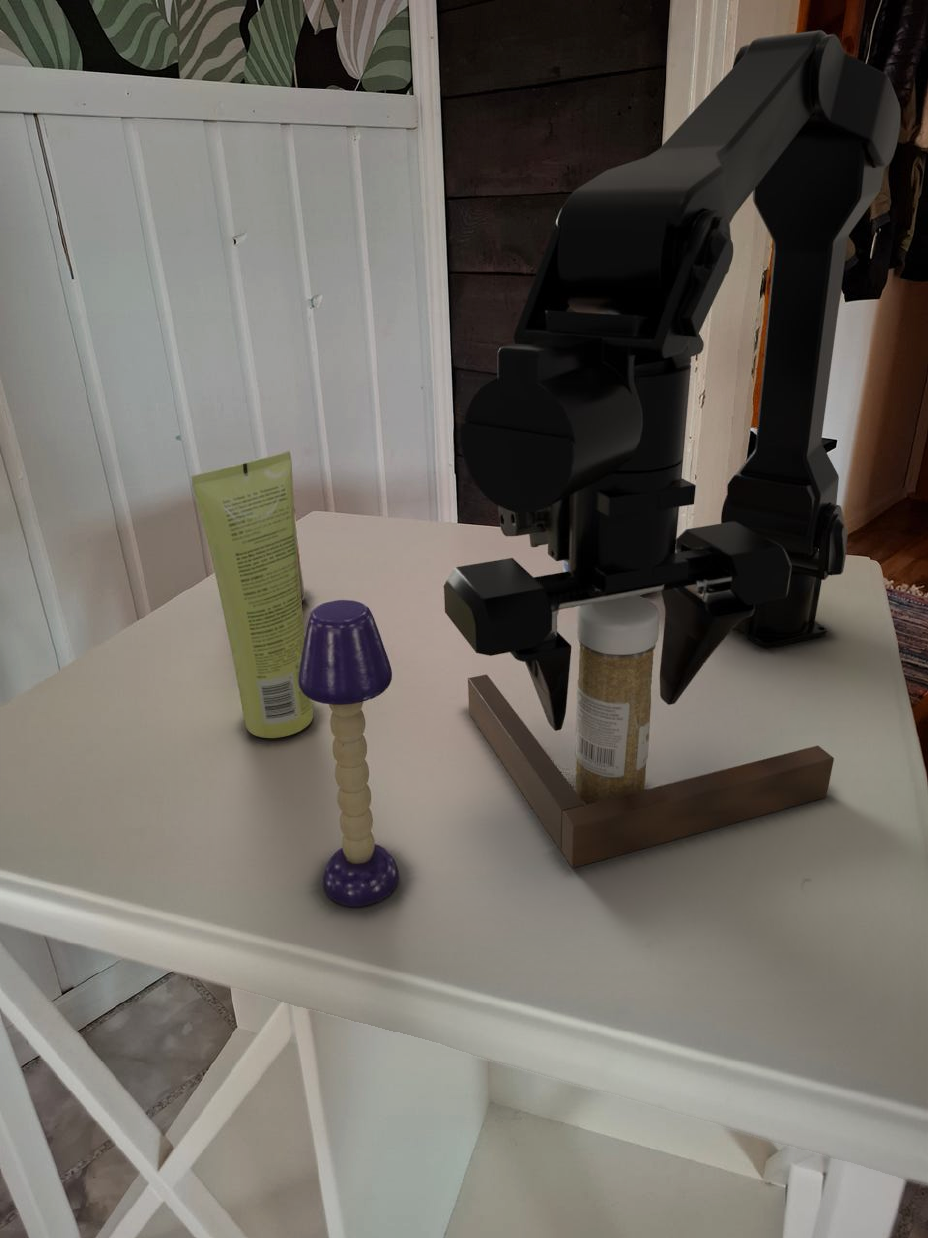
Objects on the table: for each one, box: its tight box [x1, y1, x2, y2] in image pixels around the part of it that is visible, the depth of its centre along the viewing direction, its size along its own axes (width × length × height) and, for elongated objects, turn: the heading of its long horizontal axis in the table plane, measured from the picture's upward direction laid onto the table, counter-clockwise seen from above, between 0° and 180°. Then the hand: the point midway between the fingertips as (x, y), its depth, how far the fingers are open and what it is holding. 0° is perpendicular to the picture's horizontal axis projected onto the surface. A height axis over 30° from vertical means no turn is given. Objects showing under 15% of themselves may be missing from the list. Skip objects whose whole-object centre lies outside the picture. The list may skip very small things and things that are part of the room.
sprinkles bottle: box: [573, 595, 660, 805], centre depth 51 cm, size 5×5×14 cm
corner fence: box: [467, 673, 835, 869], centre depth 58 cm, size 18×18×3 cm
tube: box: [190, 450, 314, 739], centre depth 59 cm, size 6×5×20 cm
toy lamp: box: [298, 599, 400, 908], centre depth 45 cm, size 5×5×17 cm
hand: (612, 713), depth 51 cm, fingers open, 7 cm apart
